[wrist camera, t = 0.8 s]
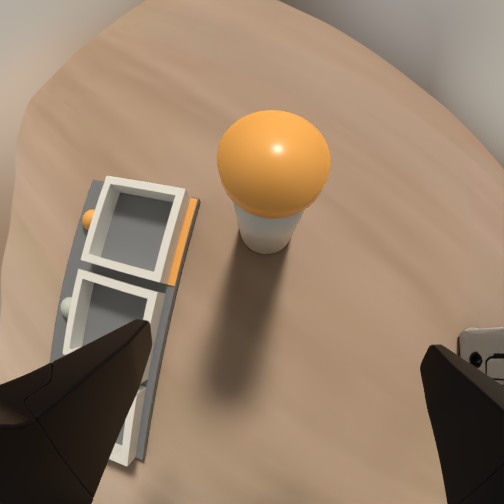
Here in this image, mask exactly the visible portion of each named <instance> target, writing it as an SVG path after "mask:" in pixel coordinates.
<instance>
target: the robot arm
mask: <svg viewBox="0 0 504 504" xmlns="http://www.w3.org/2000/svg"><path fill="white" fill-rule="evenodd" d="M151 349H152V335H151V326H150V323H149V321H147V320H142V319H135V320H133V321H131V322H129V323H127V324H125V325H123V326H121V327H119V328H118V329H116V330H114V331H112V332H110V333H108V334H106V335H104V336H102V337H100V338H98V339H96V340H94V341H92V342H90V343H88V344H86V345H84V346H82V347H80V348H79V349H77V350H75V351H73V352H71V353H69V354H67V355H65V356H63V357H61V358H59V359H57V360H55V361H53V363H49V364H47V365H45V366H43V367H41V368H39V369H37V370H35V371H33V372H31V373H28V374H26V375H24V376H21V377H19V378H16V379H14V380H11V381H9V382H6V383H4V384H1V385H0V504H91V503H92V501H93V498H92V497H94V495H95V493H96V490H97V487H98V485H99V482H100V480H101V477H102V475H103V472H104V470H105V467H106V465H107V462H108V460H109V458H110V455H111V453H112V450H113V448H114V446H115V443H116V441H117V438H118V436H119V434H120V431H121V429H122V427H123V424H124V422H125V420H126V417H127V415H128V413H129V410H130V408H131V406H132V404H133V401H134V399H135V397H136V395H137V392H138V390H139V387H140V384H141V381H142V378H143V375H144V371H145V368H146V365H147V362H148V358H149V355H150V352H151ZM420 372H421V377H422V382H423V387H424V393H425V399H426V405H427V409H428V413H429V417H430V421H431V425H432V429H433V433H434V437H435V441H436V446H437V450H438V455H439V459H440V464H441V469H442V474H443V480H444V485H445V491H446V497H447V504H504V386H503V385H501V384H500V383H498V382H497V381H495V380H494V379H492V378H491V377H489V376H488V375H487V374H485V373H484V372H482V371H481V370H479V369H478V368H476V367H475V366H473V365H472V364H470V363H469V362H467V361H465V360H464V359H462V358H461V357H459V356H458V355H456V354H455V353H453V352H452V351H450V350H449V349H447V348H446V347H444V346H443V345H430V346H429V348H428V350H427V352H426V354H425V356H424V358H423V360H422V363H421V366H420Z"/></svg>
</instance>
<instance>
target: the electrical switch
mask: <svg viewBox="0 0 504 504" xmlns="http://www.w3.org/2000/svg"><path fill="white" fill-rule="evenodd" d="M459 341H460V357H461V358H462V359H464V360H465V361H467V362H469V363H470V364H472V365H473V366H475V367H476V368H478V369H479V370H481V371H482V372H484V373H485V374H487V375H488V376H489V377H491V378H492V379H494V380H495V381H497V382H498V383H500V384H501V385H503V386H504V327H497V328H482V329H478V327H472V328H467V329H466V330H464V331H463V332H462V333H460V337H459Z"/></svg>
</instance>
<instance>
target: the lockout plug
mask: <svg viewBox="0 0 504 504" xmlns="http://www.w3.org/2000/svg"><path fill="white" fill-rule="evenodd" d="M330 165H331V160H330V152H329V149H328V146H327V143H326V141H325V139H324V138H323V136H322V135H321V133H320V132H319V131H318V130H317V129H316V128H315V127H314V126H313V125H312V124H311V123H309V122H308V121H306V120H305V119H303V118H301V117H299V116H297V115H295V114H292V113H288V112H284V111H277V110H267V111H260V112H255V113H252V114H249V115H247V116H245V117H243V118H241V119H239V120H238V121H237V122H235V123H234V124H233V125H232V126H231V127H230V128H229V129H228V130H227V131H226V133H225V134H224V136H223V137H222V139H221V141H220V144H219V147H218V151H217V166H218V170H219V174H220V178H221V181H222V184H223V187H224V189H225V191H226V193H227V195H228V196H229V197H230V199H231V200H232V201H233V203H234V207H235V212H236V216H237V221H238V225H239V230H240V234H241V237H242V240H243V242H244V243H245V244H246V246H247V247H248V248H250V249H251V250H253V251H254V252H257V253H260V254H272V253H276V252H278V251H280V250H281V249H283V248H284V247H285V246H286V245H287V243H288V242H289V240H290V238H291V236H292V234H293V232H294V230H295V228H296V226H297V224H298V222H299V220H300V218H301V215H302V213H303V211H304V210H305V209H306V208H308V207H309V206H310V205H311V204H312V203H313V202H314V201H315V200H316V198H317V197H318V195H319V194H320V192H321V190H322V188H323V186H324V184H325V183H326V181H327V178H328V176H329V172H330Z"/></svg>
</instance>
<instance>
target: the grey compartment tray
mask: <svg viewBox="0 0 504 504" xmlns="http://www.w3.org/2000/svg"><path fill="white" fill-rule="evenodd" d="M199 206H200V200H199V198H194V197H190V196H189V194H188V192H187V191H186V189H183V188H177V187H172V186H166V185H160V184H155V183H149V182H143V181H137V180H130V179H124V178H118V177H111V176H106V179H105V182H103V181H97V180H93V182H92V184H91V187H90V190H89V193H88V196H87V199H86V202H85V205H84V208H83V211H82V214H81V217H80V220H79V224H78V227H77V230H76V234H75V237H74V241H73V245H72V248H71V252H70V256H69V260H68V264H67V268H66V272H65V276H64V281H63V285H62V290H61V295H60V300H59V305H58V311H57V316H56V322H55V329H54V335H53V342H52V350H51V358H50V363H53V361H55V360H57V359H59V358H61V357H63V356H65V355H67V354H69V353H71V352H73V351H75V350H77V349H79V348H80V347H82V346H84V345H86V344H88V343H90V342H92V341H94V340H96V339H98V338H100V337H102V336H104V335H106V334H108V333H110V332H112V331H114V330H116V329H118V328H119V327H121V326H123V325H125V324H127V323H129V322H131V321H133V320H135V319H142V320H147V321H149V323H150V326H151V335H152V349H151V352H150V355H149V358H148V362H147V365H146V368H145V371H144V375H143V378H142V381H141V384H140V387H139V390H138V392H137V395H136V397H135V399H134V401H133V404H132V406H131V408H130V410H129V413H128V415H127V417H126V420H125V422H124V424H123V427H122V429H121V431H120V434H119V436H118V438H117V441H116V443H115V446H114V448H113V450H112V453H111V455H110V458H109V459H110V460H112V461H115V462H117V463H120V464H122V465H124V466H128V465H129V464H130V463H131V462H132V461H133V459H134V458H135V457H136V458H138V459H141V460H143V459H144V457H145V455H146V448H147V442H148V435H149V429H150V423H151V417H152V411H153V405H154V399H155V394H156V388H157V383H158V378H159V373H160V368H161V363H162V358H163V353H164V348H165V343H166V338H167V334H168V329H169V324H170V320H171V316H172V311H173V307H174V302H175V298H176V294H177V290H178V286H179V281H180V277H181V273H182V269H183V265H184V261H185V257H186V254H187V250H188V246H189V242H190V238H191V235H192V231H193V227H194V223H195V220H196V216H197V213H198V209H199Z"/></svg>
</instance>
